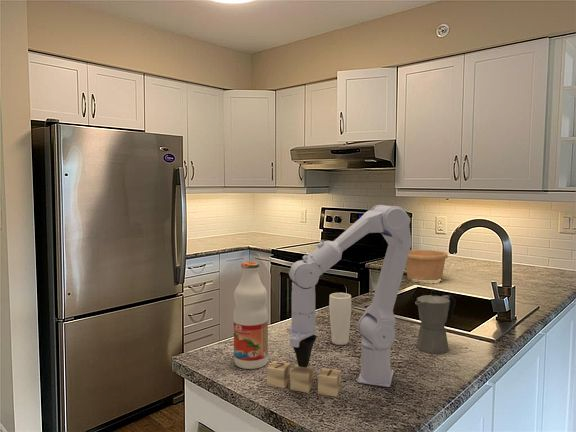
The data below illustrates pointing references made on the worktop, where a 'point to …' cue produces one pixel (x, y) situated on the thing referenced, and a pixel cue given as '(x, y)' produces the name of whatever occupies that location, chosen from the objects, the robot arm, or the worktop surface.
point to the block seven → (278, 374)
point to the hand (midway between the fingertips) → (303, 365)
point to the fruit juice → (250, 319)
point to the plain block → (302, 378)
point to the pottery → (425, 264)
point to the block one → (329, 382)
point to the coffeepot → (434, 322)
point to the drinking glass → (340, 317)
